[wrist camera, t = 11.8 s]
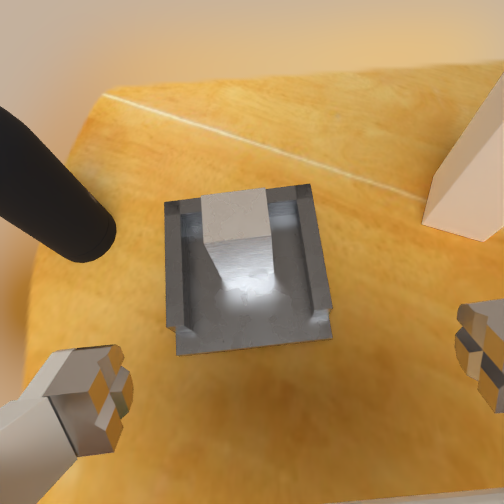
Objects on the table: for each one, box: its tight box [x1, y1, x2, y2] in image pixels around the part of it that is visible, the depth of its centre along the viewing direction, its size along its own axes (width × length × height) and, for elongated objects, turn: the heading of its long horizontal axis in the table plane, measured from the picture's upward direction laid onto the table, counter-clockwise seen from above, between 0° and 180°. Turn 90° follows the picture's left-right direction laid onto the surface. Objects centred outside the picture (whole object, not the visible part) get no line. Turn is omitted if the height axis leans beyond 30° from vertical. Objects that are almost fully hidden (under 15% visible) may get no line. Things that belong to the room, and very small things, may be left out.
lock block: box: [201, 188, 274, 279], centre depth 33 cm, size 4×5×9 cm
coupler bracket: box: [164, 184, 333, 357], centre depth 35 cm, size 14×14×4 cm
